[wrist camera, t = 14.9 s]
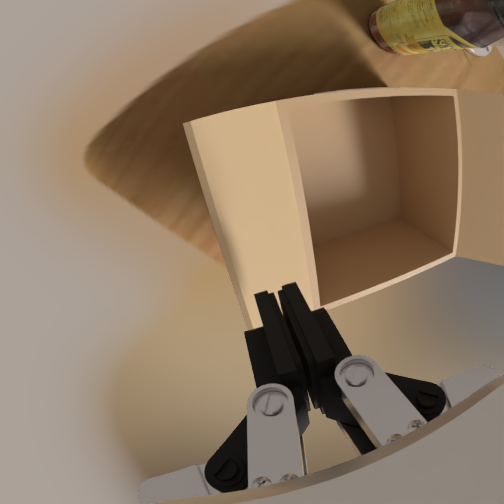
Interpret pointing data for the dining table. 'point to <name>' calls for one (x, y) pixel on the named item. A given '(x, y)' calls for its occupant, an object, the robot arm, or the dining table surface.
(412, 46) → the sauce bottle
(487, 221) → the flap
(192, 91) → the dining table surface
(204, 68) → the dining table surface
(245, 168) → the flap
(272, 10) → the dining table surface
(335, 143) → the carton
